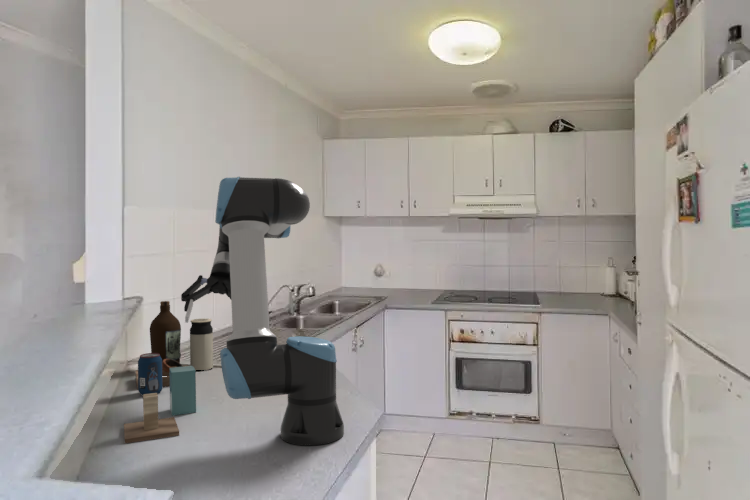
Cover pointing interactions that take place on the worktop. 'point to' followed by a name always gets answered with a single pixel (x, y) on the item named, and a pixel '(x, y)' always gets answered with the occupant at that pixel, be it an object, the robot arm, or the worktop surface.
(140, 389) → the soda can
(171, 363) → the pottery mug
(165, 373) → the mug frame
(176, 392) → the tall teal pillar
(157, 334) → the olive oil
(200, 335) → the travel mug
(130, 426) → the brown square base plate
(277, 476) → the worktop surface
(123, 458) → the worktop surface
